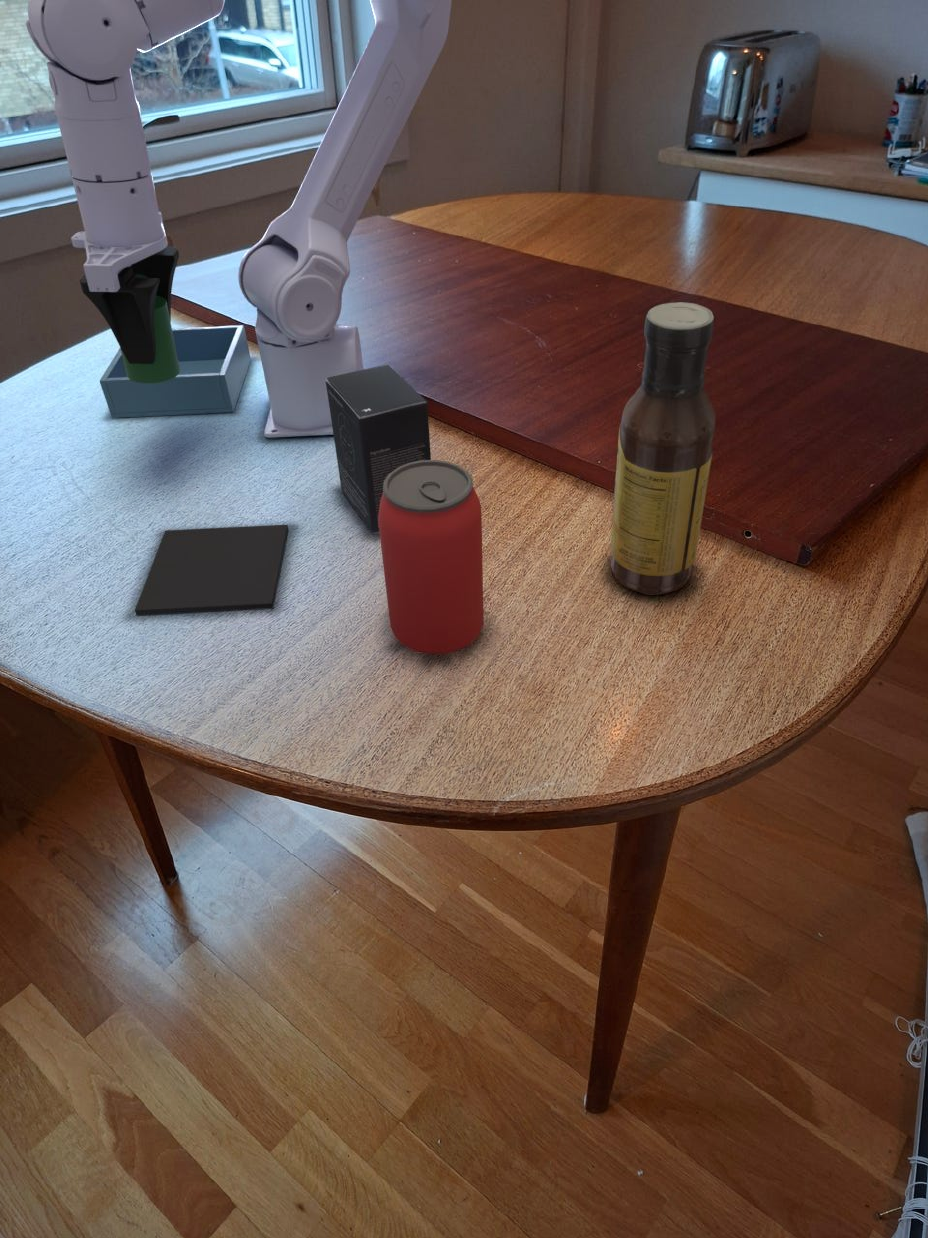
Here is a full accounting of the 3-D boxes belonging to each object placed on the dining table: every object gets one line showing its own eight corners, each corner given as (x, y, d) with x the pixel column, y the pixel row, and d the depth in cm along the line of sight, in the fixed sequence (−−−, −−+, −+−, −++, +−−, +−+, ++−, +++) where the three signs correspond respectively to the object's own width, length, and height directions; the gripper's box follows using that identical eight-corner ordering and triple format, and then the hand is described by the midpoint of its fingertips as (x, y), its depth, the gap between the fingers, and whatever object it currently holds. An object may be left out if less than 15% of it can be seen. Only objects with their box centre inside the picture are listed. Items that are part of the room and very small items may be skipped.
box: (436, 517, 70) (428, 400, 63) (372, 537, 68) (357, 418, 61) (399, 473, 75) (389, 360, 68) (339, 490, 74) (322, 376, 67)
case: (251, 359, 94) (243, 324, 91) (233, 412, 85) (224, 374, 82) (141, 365, 94) (130, 330, 91) (111, 418, 85) (99, 380, 82)
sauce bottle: (653, 538, 67) (690, 284, 54) (709, 579, 63) (763, 315, 50) (588, 565, 65) (610, 306, 51) (642, 610, 61) (680, 342, 47)
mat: (288, 529, 69) (287, 524, 69) (273, 608, 62) (272, 603, 62) (166, 535, 69) (164, 530, 69) (136, 615, 62) (134, 610, 61)
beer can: (415, 672, 57) (401, 524, 49) (376, 615, 61) (357, 472, 53) (501, 639, 59) (500, 493, 51) (457, 587, 63) (451, 444, 55)
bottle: (185, 363, 75) (167, 269, 70) (173, 383, 72) (153, 287, 67) (134, 362, 75) (113, 268, 70) (120, 383, 72) (97, 286, 66)
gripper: (88, 152, 69) (126, 318, 77) (21, 196, 58) (74, 385, 66) (176, 154, 69) (204, 319, 78) (125, 199, 58) (165, 386, 67)
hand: (149, 350), depth 72 cm, fingers closed on bottle, 4 cm apart
